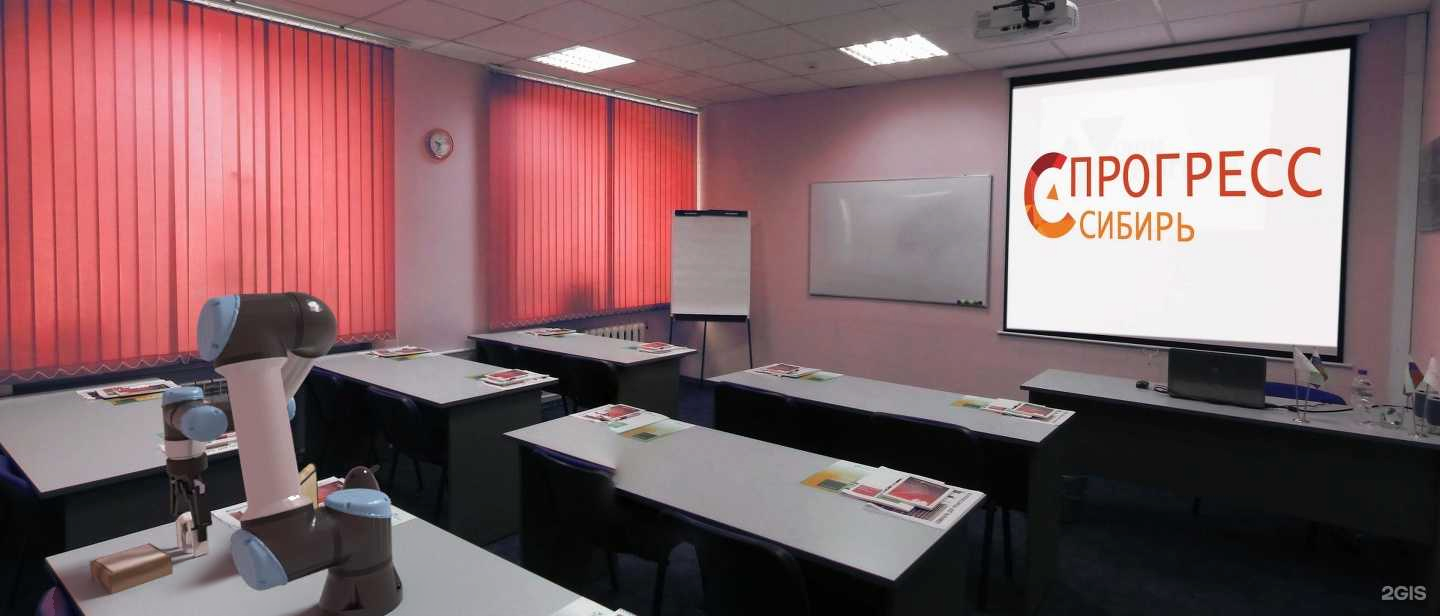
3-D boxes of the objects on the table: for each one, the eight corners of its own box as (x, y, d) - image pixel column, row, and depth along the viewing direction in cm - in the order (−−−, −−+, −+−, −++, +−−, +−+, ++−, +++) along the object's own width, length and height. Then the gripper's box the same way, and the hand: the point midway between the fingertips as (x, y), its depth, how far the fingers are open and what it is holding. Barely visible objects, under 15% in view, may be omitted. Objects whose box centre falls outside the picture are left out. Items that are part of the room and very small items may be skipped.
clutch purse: (292, 517, 184) (289, 462, 182) (321, 516, 185) (319, 460, 183) (240, 572, 155) (236, 507, 153) (276, 570, 156) (272, 505, 155)
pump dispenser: (392, 522, 182) (390, 465, 180) (353, 536, 173) (350, 476, 172) (369, 513, 187) (367, 457, 186) (330, 526, 179) (327, 468, 177)
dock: (172, 573, 154) (171, 554, 153) (112, 593, 145) (110, 574, 144) (150, 560, 159) (149, 541, 159) (91, 579, 150) (89, 560, 150)
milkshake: (193, 556, 161) (190, 514, 160) (174, 553, 162) (171, 512, 161) (211, 547, 166) (208, 506, 165) (192, 545, 167) (189, 504, 166)
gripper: (226, 458, 159) (232, 554, 162) (185, 442, 170) (191, 533, 173) (188, 467, 153) (194, 567, 156) (147, 450, 164) (154, 544, 166)
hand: (193, 549), depth 164 cm, fingers open, 7 cm apart
